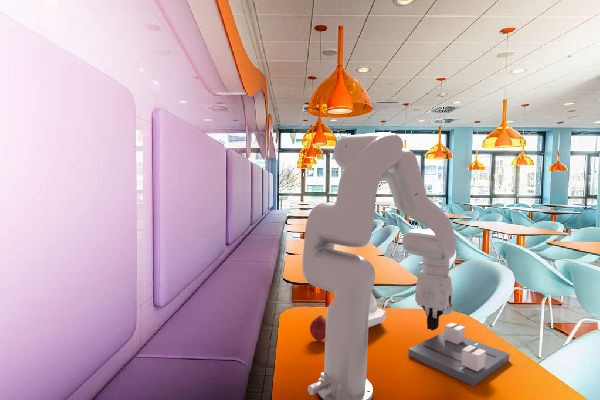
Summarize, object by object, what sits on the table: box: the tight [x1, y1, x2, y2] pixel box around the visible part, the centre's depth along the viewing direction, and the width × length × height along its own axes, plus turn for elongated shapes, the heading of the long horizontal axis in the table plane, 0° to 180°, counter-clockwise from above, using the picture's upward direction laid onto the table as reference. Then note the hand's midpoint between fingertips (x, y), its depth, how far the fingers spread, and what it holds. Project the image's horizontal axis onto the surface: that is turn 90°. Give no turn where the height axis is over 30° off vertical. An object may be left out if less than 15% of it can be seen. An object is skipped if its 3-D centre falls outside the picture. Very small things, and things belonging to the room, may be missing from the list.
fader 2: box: [461, 345, 486, 372], centre depth 91 cm, size 4×4×4 cm
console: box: [408, 331, 510, 387], centre depth 99 cm, size 20×18×2 cm
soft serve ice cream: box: [368, 292, 387, 329], centre depth 119 cm, size 12×15×14 cm
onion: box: [309, 313, 326, 342], centre depth 107 cm, size 6×6×8 cm
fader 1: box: [443, 322, 466, 344], centre depth 105 cm, size 4×4×4 cm
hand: (432, 328), depth 110 cm, fingers closed
